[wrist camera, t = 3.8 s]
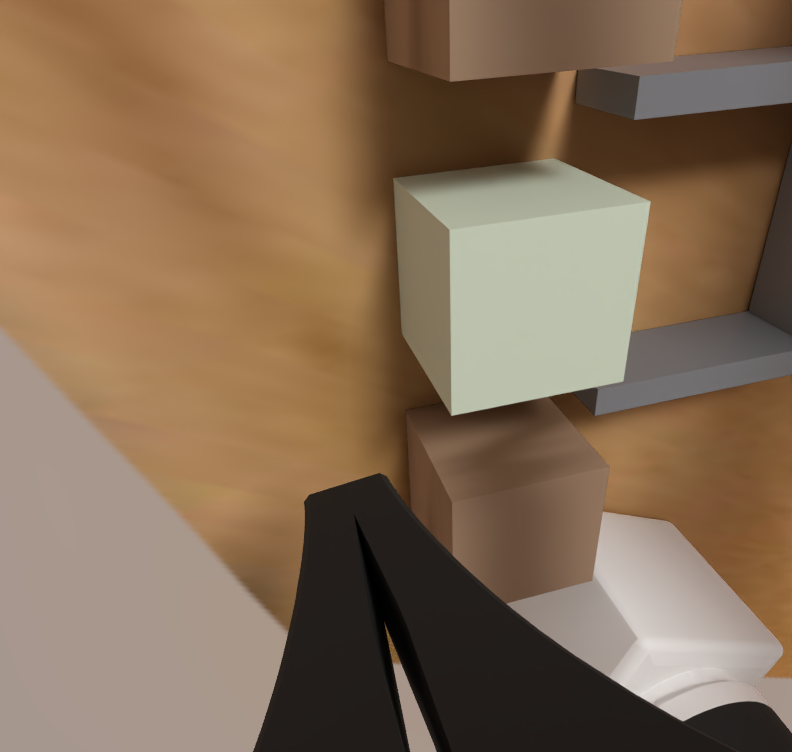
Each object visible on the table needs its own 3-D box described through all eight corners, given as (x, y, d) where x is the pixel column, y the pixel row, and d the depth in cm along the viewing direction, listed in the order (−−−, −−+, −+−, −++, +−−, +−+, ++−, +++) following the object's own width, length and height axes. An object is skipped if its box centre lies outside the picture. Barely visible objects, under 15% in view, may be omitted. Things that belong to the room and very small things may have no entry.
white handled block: (475, 620, 29) (619, 942, 19) (545, 499, 27) (756, 802, 17) (596, 627, 32) (777, 910, 22) (671, 518, 29) (916, 786, 19)
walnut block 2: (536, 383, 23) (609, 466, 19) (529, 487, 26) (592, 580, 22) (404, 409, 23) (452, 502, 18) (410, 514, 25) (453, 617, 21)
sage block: (553, 157, 19) (650, 201, 15) (542, 308, 22) (623, 381, 18) (392, 177, 18) (449, 230, 14) (401, 332, 21) (451, 415, 17)
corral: (844, 41, 20) (937, 47, 17) (764, 330, 25) (827, 367, 22) (578, 65, 18) (640, 76, 16) (551, 371, 23) (594, 416, 21)
